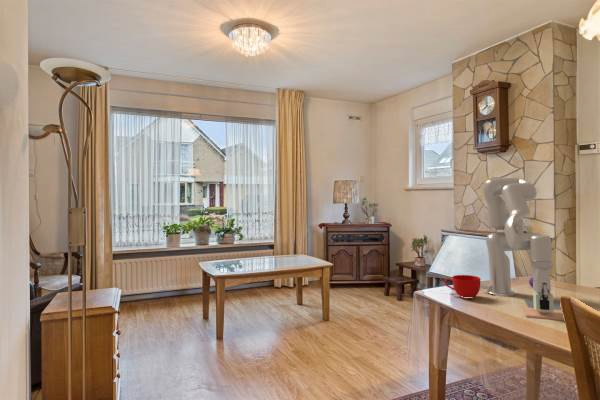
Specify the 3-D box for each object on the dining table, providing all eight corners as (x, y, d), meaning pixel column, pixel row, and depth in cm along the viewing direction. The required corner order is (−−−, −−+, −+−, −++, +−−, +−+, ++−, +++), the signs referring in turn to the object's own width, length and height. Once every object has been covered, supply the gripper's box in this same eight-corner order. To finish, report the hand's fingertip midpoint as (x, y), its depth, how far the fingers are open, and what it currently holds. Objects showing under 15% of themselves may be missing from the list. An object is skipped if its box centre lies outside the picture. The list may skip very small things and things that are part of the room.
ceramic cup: (447, 292, 194) (447, 273, 194) (482, 295, 184) (481, 276, 184) (442, 298, 183) (441, 278, 183) (479, 302, 173) (478, 281, 173)
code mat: (528, 308, 162) (528, 307, 162) (523, 300, 174) (523, 299, 174) (572, 311, 155) (572, 310, 155) (563, 302, 168) (563, 302, 168)
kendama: (545, 275, 208) (542, 279, 192) (543, 285, 209) (540, 290, 193) (533, 272, 212) (529, 276, 196) (531, 282, 212) (527, 286, 196)
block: (536, 311, 150) (535, 294, 150) (533, 307, 156) (533, 290, 156) (553, 312, 148) (553, 295, 148) (550, 308, 153) (549, 291, 153)
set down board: (526, 317, 150) (525, 315, 150) (522, 310, 159) (522, 308, 159) (566, 320, 144) (566, 318, 144) (560, 313, 153) (560, 311, 153)
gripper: (527, 260, 161) (529, 301, 161) (534, 267, 145) (536, 312, 145) (547, 261, 158) (549, 302, 158) (557, 268, 142) (558, 314, 142)
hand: (543, 306), depth 152 cm, fingers closed on block, 6 cm apart
